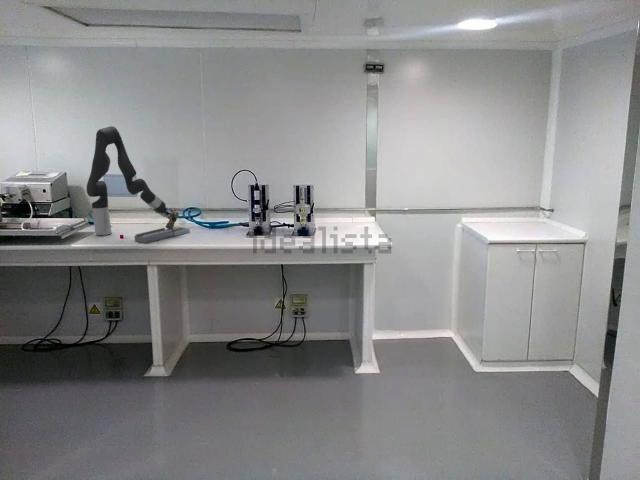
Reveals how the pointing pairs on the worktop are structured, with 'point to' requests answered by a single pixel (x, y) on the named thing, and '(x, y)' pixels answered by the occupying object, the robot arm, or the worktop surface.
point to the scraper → (171, 222)
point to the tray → (181, 231)
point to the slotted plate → (153, 235)
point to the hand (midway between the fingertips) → (174, 220)
